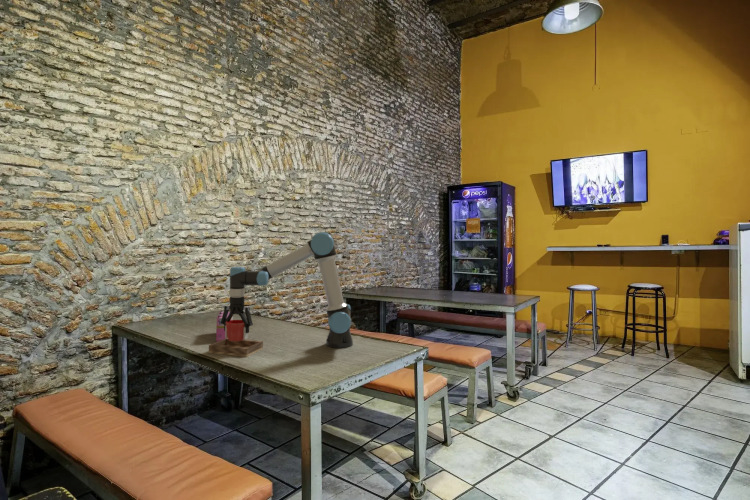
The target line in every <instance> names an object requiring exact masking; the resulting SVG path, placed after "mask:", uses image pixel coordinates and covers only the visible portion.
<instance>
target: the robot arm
mask: <svg viewBox="0 0 750 500" xmlns="http://www.w3.org/2000/svg"><path fill="white" fill-rule="evenodd" d="M336 256H337V251H336V247H335V240H334V238H333V236H332V235H331V234H329V233H328V232H326V231H320V232H317V233H315V234H314V235H313V236H312V237H311V239H310V240H308V241H307V242H306V244H304V245H302V246H301V247H299V248H298V249H295V250H293V251H291V252H290V253H287V254H286V255H284V256H281V257H280V258H278V259H277V260H274V261H273V262H270V263H269V264H267V265H265V266H264V267H262V268H259V269H258V270H246V268H245V267H244V266H232V267H230V271H229V302H228V303H229V304H228V305H224V307H223V312H224V313H223V316H222V320H221V324H224V331H225V338H228V335H227V328H226V321H227V322H229V321H230V320H231V318H232V316H233V317H234V315H238V316H239V317H240V320H242V321H243V323H244V325H245V327H244V340H249V339H248V338H249V332H250V327H252V326H253V324H254V323H253V319H252V316H251V312H250V311H251V310H250V309H251V307H249V306H245V296H246V295H245V294H246V293H245V289H246V286H259V287H262V286H263V287H264V286H267V285H268V283H269V280H271V279H273V278H274V277H276V276H278V275H280V274H282V273H284V272H286V271H288V270H290V269H292V268H294V267H295V266H297V265H299V264H301V263H304V262H305V261H306V260H308V259H310V258H314V260H315V261H316V262H317V263H318V265H319V270H320V271H319V272H320V274H321V275H320V276H321V279H322V283H323V288H324V292H325V297H326V301H327V307H326V310H325V311H326V316H327V319H328V323H327V324H328V327H329V332H328V334H327V338H326V341H325V344H326V346H327V347H330V348H336V349H337V348H338V349H339V348H340V349H341V348H350V347H352V346H353V345H354V341H353V337H352V333H351V325H352V319H351V310H352V308H351V305H350V304H348V303H346V302H345V301H344V297H343V296H344V295H343V292H342V288H341V282H340V278H339V273H338V269H337V264H336V259H335V258H336ZM228 312H230V313H229V315H228ZM227 315H228V317H227ZM226 318H227V319H226Z"/></svg>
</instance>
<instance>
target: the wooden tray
mask: <svg viewBox="0 0 750 500" xmlns="http://www.w3.org/2000/svg"><path fill="white" fill-rule="evenodd" d="M263 349H264V341H263V340H254V339H253V340H252V339H245V340H242V341H229V340H228V338H226V339H223V340H221V341H215V342H214V343H210V344H209V345H208V353H209V354H216V355H217V354H218V355H225V356H237V357H246V358H247V357H249V356H252V355H253V354H255V353H257V352H259V351H261V350H263Z"/></svg>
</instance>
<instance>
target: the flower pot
mask: <svg viewBox="0 0 750 500" xmlns="http://www.w3.org/2000/svg"><path fill="white" fill-rule="evenodd" d="M244 327H245V325H244V323H243V321H242V319H233V320H230V321H229V322H227V321H226V328H227V335H228V340H229V341H242V340H244Z"/></svg>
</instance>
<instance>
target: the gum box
mask: <svg viewBox="0 0 750 500" xmlns="http://www.w3.org/2000/svg"><path fill="white" fill-rule="evenodd" d="M223 313H224V311H223V310H220V311H219V312H218V315H217V317H216V327H215V329H216V336H215V340H216V341H215V342H218V341H221V340H223V339H226V338H225V331H224V324H221V320H222V316H223ZM229 313H230V311H228V315H229ZM228 315H227V317H228ZM233 318H234V315H233V316H232V318H231V320H234V319H233ZM226 319H227V318H226Z"/></svg>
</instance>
